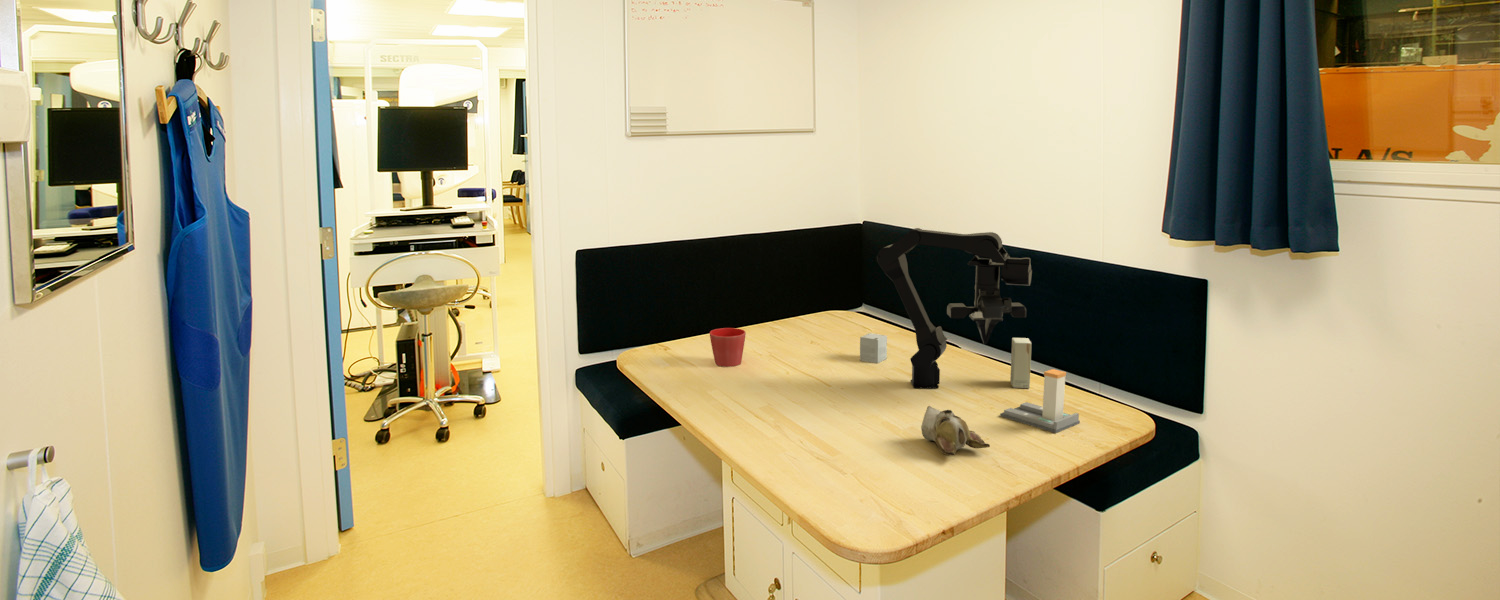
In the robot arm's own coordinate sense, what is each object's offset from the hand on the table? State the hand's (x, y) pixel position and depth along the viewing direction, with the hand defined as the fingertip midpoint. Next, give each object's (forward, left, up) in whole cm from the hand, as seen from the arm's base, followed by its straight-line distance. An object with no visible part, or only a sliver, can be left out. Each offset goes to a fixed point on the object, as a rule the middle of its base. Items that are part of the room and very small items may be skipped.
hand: (984, 343), depth 205 cm
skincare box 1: (-25, +31, -13) cm, 42 cm away
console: (+8, -20, -13) cm, 26 cm away
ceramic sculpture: (-16, -37, -13) cm, 43 cm away
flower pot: (-68, +28, -13) cm, 75 cm away
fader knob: (+10, -23, -13) cm, 28 cm away
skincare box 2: (+11, +6, -13) cm, 18 cm away
